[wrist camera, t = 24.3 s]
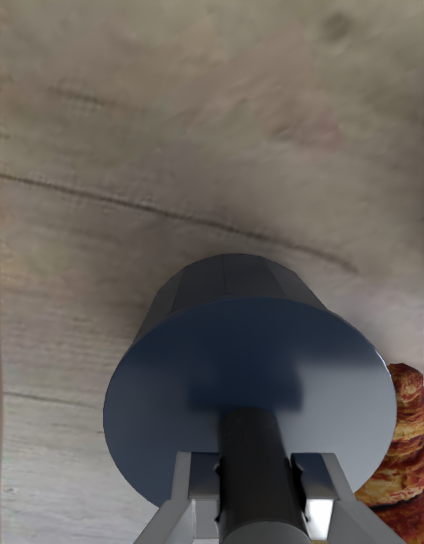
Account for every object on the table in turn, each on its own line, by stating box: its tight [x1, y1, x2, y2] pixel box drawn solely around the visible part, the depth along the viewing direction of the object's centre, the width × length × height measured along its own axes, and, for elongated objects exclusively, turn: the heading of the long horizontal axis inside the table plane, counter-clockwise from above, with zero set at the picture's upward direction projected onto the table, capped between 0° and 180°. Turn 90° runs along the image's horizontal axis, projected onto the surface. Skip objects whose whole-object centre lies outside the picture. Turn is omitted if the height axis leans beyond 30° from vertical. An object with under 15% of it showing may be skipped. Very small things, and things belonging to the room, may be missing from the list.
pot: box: [134, 254, 327, 341], centre depth 15 cm, size 11×11×6 cm
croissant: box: [311, 363, 424, 544], centre depth 19 cm, size 21×10×8 cm, turn 172°
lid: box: [103, 292, 397, 544], centre depth 10 cm, size 12×12×5 cm
